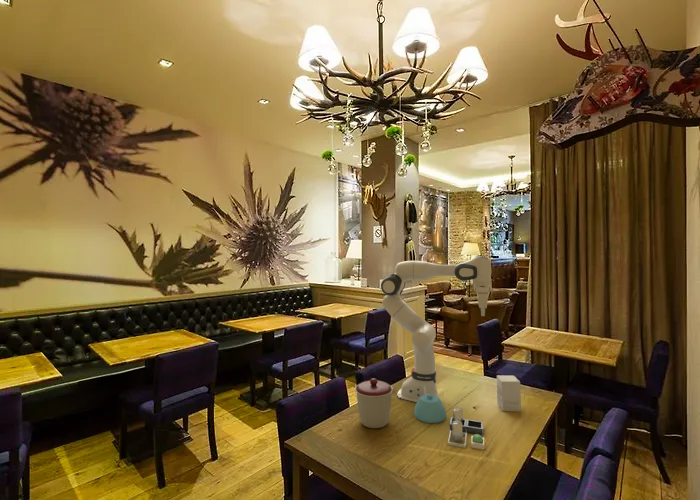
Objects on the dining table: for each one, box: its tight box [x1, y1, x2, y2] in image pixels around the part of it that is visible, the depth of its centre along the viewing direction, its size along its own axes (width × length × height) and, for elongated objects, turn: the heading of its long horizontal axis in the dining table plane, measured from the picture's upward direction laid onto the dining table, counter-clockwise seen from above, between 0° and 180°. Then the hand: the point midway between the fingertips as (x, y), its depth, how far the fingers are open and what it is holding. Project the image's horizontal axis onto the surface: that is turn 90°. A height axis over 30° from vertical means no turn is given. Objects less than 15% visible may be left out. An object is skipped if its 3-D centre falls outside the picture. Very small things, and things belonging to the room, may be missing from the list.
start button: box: [472, 434, 483, 444], centre depth 145 cm, size 3×3×3 cm
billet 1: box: [452, 407, 464, 425], centre depth 159 cm, size 4×4×8 cm
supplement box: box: [496, 374, 522, 412], centre depth 180 cm, size 9×9×15 cm
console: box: [470, 435, 485, 450], centre depth 145 cm, size 5×6×3 cm
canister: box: [354, 377, 394, 429], centre depth 167 cm, size 18×18×21 cm
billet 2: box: [452, 421, 464, 444], centre depth 149 cm, size 4×4×8 cm
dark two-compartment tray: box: [449, 416, 484, 437], centre depth 158 cm, size 14×8×4 cm, turn 69°
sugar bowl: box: [413, 394, 447, 424], centre depth 170 cm, size 15×15×12 cm
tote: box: [447, 429, 468, 449], centre depth 149 cm, size 7×10×2 cm
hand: (483, 314), depth 183 cm, fingers open, 8 cm apart
